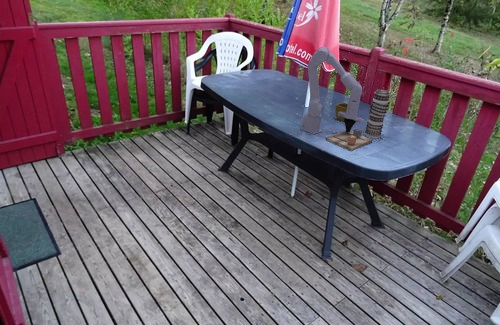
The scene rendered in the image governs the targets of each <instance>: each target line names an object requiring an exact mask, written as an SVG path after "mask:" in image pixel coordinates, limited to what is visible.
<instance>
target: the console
mask: <svg viewBox="0 0 500 325" xmlns="http://www.w3.org/2000/svg"><path fill="white" fill-rule="evenodd" d="M353 132H354V131H351V130H350V132H348V133H347V132H346V130H343V131H340V132H338V133H335V134H331V135H329V136H327V137H325V141H327V142H329V143H331V144H333V145H336V146H338V147H340V148H343V149H345V150H347V151H350V152H353V151H354V150H357V149H360V148H362V147H364V146H367V145H369V144H372V143H373V139H372V138H371V137H368V136H365V135H362V134H361V137H358V138H356V143H355V144H349V143H347V140H348V136H351V135H353Z"/></svg>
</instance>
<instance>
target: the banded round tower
mask: <svg viewBox="0 0 500 325" xmlns="http://www.w3.org/2000/svg"><path fill="white" fill-rule="evenodd" d="M373 92H374V95H373V98H372V100H371V102H370V106H369V107H370V108H369V113H368V114H369V117H368V120H367V121H366V127H365V129H364V136H365V137H367V138H371V139H372V138H373V139H379V138H381V135H382V132H383V127H384V122H385V121H384V119H385V117H386V114H387V111H388V107H389V105H390V101H389V100H390V99H389V98H390V96H391V94H390V93H389V92H390V91H388V89H387V90H386V89H383V88H382V89H376V91H373Z"/></svg>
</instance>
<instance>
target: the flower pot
mask: <svg viewBox="0 0 500 325" xmlns="http://www.w3.org/2000/svg"><path fill="white" fill-rule="evenodd" d="M347 105H348V103H345V102H341V103H337V104H335V110H334V111H335V112H334V113H335V116H336V120H338V121H341V122H344V119H345V117H342V116H338V112H344V113H346V110H347Z"/></svg>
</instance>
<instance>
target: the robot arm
mask: <svg viewBox="0 0 500 325" xmlns="http://www.w3.org/2000/svg"><path fill="white" fill-rule="evenodd" d="M324 62H325V64H327V65H330V66H331V67H332V68H333V70H335V71H336V72H337V74H338V75H339V76H340V82H341V83H342V84H343V85H344V86H345V88H346V89H347V90H348V91H349V94H350V95H349V97H348V100H347V104H348V105H347V110H346V113H344V112H338V116H342V117H345V119H344V121H343V123H344V126H345V131H346V132H347V133H348V132H350V131H351V130H352V129H353V126H355V124H356V123H359V124H360V125H361V124H364V122H365V119H364V118H362V117H360V116H358V111H359V108H360V107H359V106H360V103H361V102H360V101H361V96H362V95H363V87H362V85H361V84H360V82H359V81H357V80H356V79H355V77H354V74H353V73H351V72H348V71H346V70H345V68H344V66H342V65H341V63H340V62H339V60H338V58H336V56H335V55H334V53H333V52H332V51H330V49H329V48H328V47H327V46H321V47H319V48H318V49H317V50H316V51H315V52H314V54H312V57H311V58H310V60H309V61H308V64H307V73H308V86H309V98H310V100H309V109H308V112H306V113H304V115H303V116H302V122H301V127H300V130H303V131H304V132H308V133H310V134H311V135H315V134H317V133H321V132H322V133H323V129H321V128H320V127H321V122H322V116H323V115H322V113H321V112H322V110H323V108H324V107H323V104H322V102H321V98H320V86H319V84H320V83H319V72H318V70H319V69H318V67H320V65H321V64H323V63H324Z"/></svg>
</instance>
